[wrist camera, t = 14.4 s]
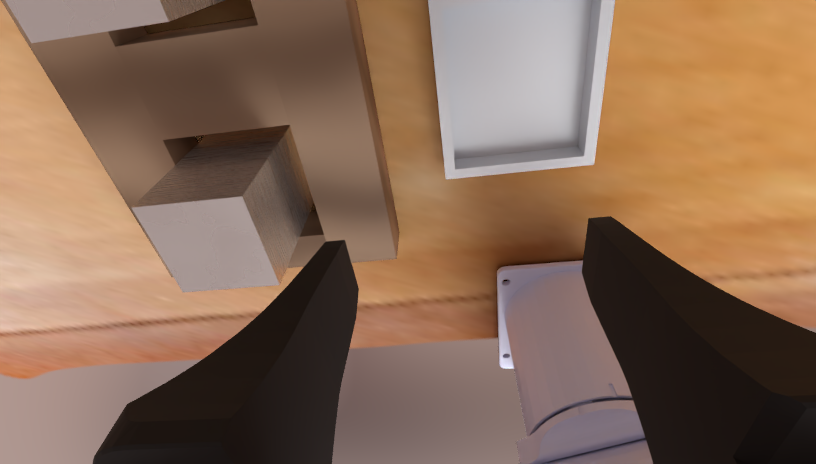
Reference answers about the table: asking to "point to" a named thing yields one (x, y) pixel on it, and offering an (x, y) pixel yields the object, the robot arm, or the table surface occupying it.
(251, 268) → the seated billet
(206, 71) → the board
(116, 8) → the billet
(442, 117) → the shallow grey tray
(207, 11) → the table surface
